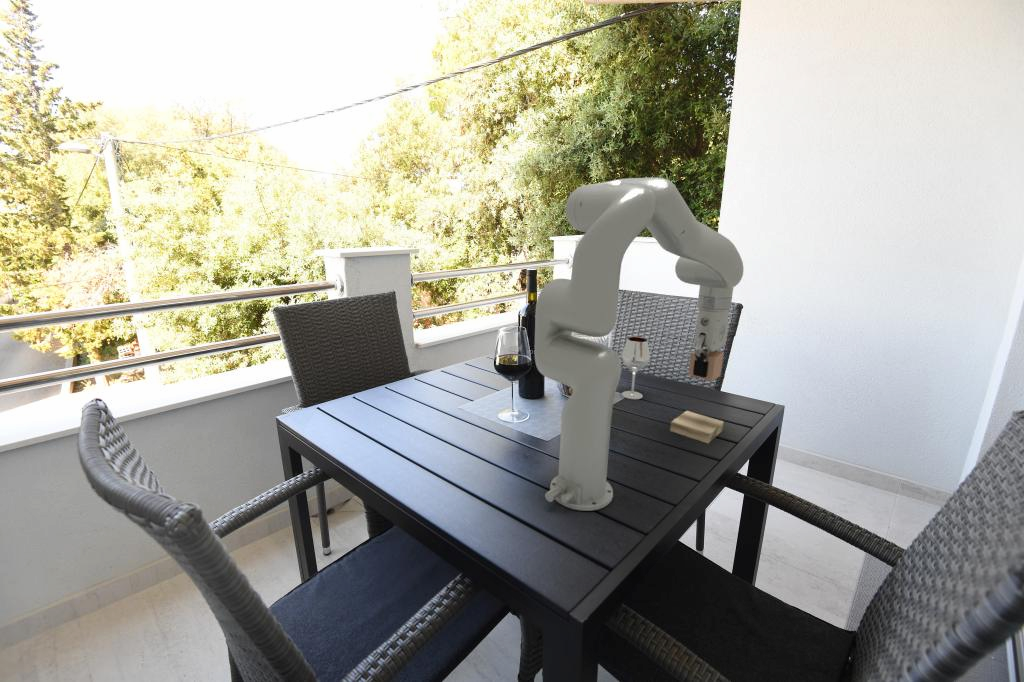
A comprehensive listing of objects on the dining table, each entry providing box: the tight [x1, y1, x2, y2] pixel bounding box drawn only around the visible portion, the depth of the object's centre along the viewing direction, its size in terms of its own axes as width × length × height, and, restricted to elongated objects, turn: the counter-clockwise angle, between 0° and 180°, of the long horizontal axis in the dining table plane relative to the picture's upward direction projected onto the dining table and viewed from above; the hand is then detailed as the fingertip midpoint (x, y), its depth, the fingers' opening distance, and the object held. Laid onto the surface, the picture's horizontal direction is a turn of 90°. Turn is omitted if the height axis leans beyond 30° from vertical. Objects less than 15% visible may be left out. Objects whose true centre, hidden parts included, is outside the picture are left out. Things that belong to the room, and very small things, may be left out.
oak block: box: [669, 410, 725, 444], centre depth 126 cm, size 10×10×3 cm
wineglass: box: [621, 336, 651, 400], centre depth 147 cm, size 8×8×18 cm
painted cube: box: [688, 347, 725, 382], centre depth 122 cm, size 6×6×6 cm
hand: (704, 372), depth 122 cm, fingers closed on painted cube, 6 cm apart
